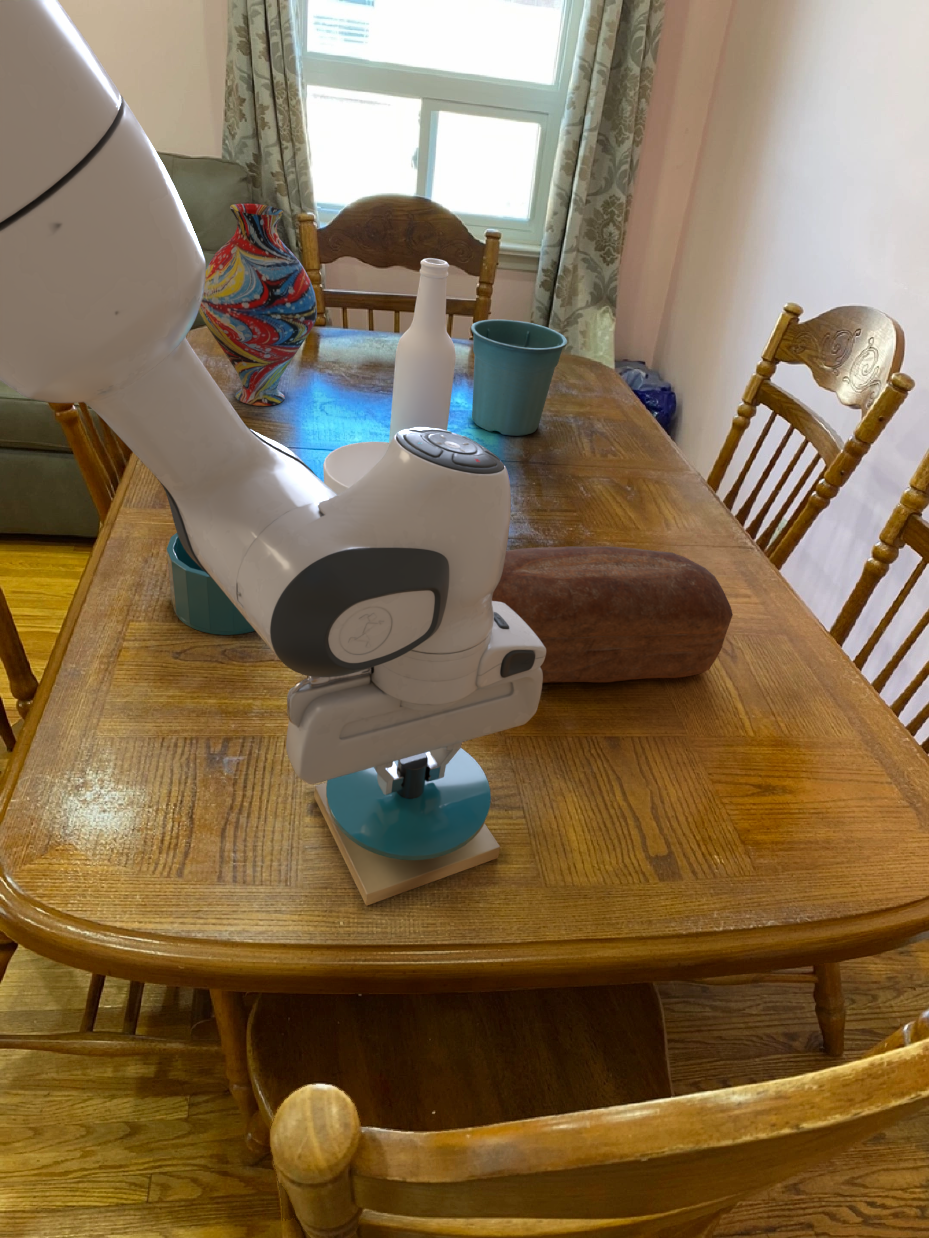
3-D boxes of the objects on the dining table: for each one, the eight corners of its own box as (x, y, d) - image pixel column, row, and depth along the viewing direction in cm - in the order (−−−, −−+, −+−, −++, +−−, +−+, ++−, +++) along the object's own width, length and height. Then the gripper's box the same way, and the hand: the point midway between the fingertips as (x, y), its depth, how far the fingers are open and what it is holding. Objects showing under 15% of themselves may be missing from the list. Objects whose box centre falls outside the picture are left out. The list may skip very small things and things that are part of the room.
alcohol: (452, 470, 129) (478, 270, 112) (401, 476, 125) (420, 270, 108) (428, 447, 135) (448, 253, 118) (378, 452, 131) (392, 252, 114)
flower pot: (464, 400, 155) (475, 312, 145) (550, 413, 155) (567, 327, 145) (455, 433, 141) (466, 339, 132) (549, 448, 141) (567, 355, 132)
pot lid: (363, 888, 61) (366, 847, 58) (303, 763, 70) (303, 723, 67) (518, 834, 67) (528, 794, 64) (444, 725, 76) (450, 687, 73)
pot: (187, 644, 87) (182, 585, 83) (162, 582, 95) (156, 526, 91) (300, 622, 92) (301, 566, 88) (267, 565, 101) (266, 512, 97)
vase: (207, 374, 149) (197, 191, 132) (313, 380, 153) (317, 204, 136) (199, 415, 134) (186, 215, 117) (316, 421, 138) (321, 228, 121)
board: (365, 906, 64) (367, 894, 63) (313, 797, 72) (314, 785, 71) (498, 858, 69) (500, 846, 68) (435, 761, 78) (437, 750, 77)
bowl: (445, 513, 117) (453, 451, 112) (432, 571, 104) (440, 505, 99) (335, 496, 117) (338, 434, 112) (308, 553, 104) (310, 485, 99)
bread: (456, 621, 96) (469, 530, 89) (674, 616, 103) (702, 531, 96) (482, 699, 86) (500, 603, 78) (724, 688, 92) (760, 598, 85)
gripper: (302, 708, 53) (301, 848, 61) (565, 645, 62) (533, 774, 70) (272, 651, 57) (274, 788, 65) (522, 600, 66) (497, 726, 74)
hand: (410, 780), depth 67 cm, fingers closed on pot lid, 2 cm apart
